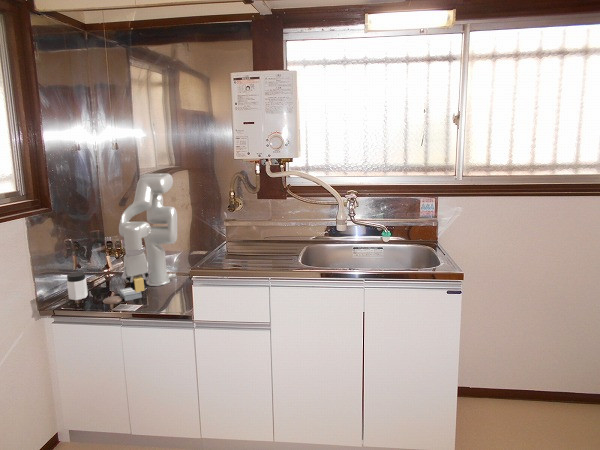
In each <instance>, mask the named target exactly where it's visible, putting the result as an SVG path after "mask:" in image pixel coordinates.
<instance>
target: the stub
mask: <svg viewBox="0 0 600 450" xmlns="http://www.w3.org/2000/svg"><path fill="white" fill-rule="evenodd" d="M133 282H134V286H135V290H134V291H135V292H141V293H142V292H143V291H145V290H146V288H144V280H143V278H142V276H141V274H140V275H136V276H133Z"/></svg>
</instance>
